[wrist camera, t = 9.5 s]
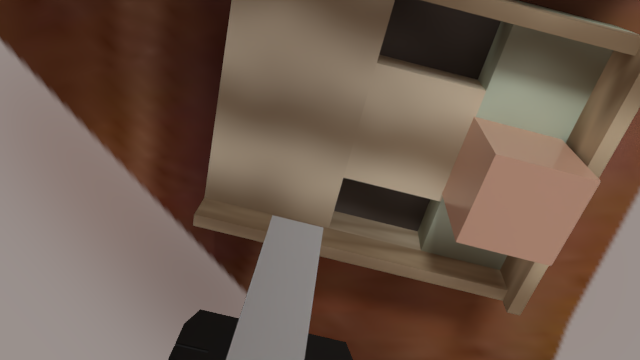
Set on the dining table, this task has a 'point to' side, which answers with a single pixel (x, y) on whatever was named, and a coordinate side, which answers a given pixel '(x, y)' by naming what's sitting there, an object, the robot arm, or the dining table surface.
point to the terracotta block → (516, 191)
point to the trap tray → (402, 121)
